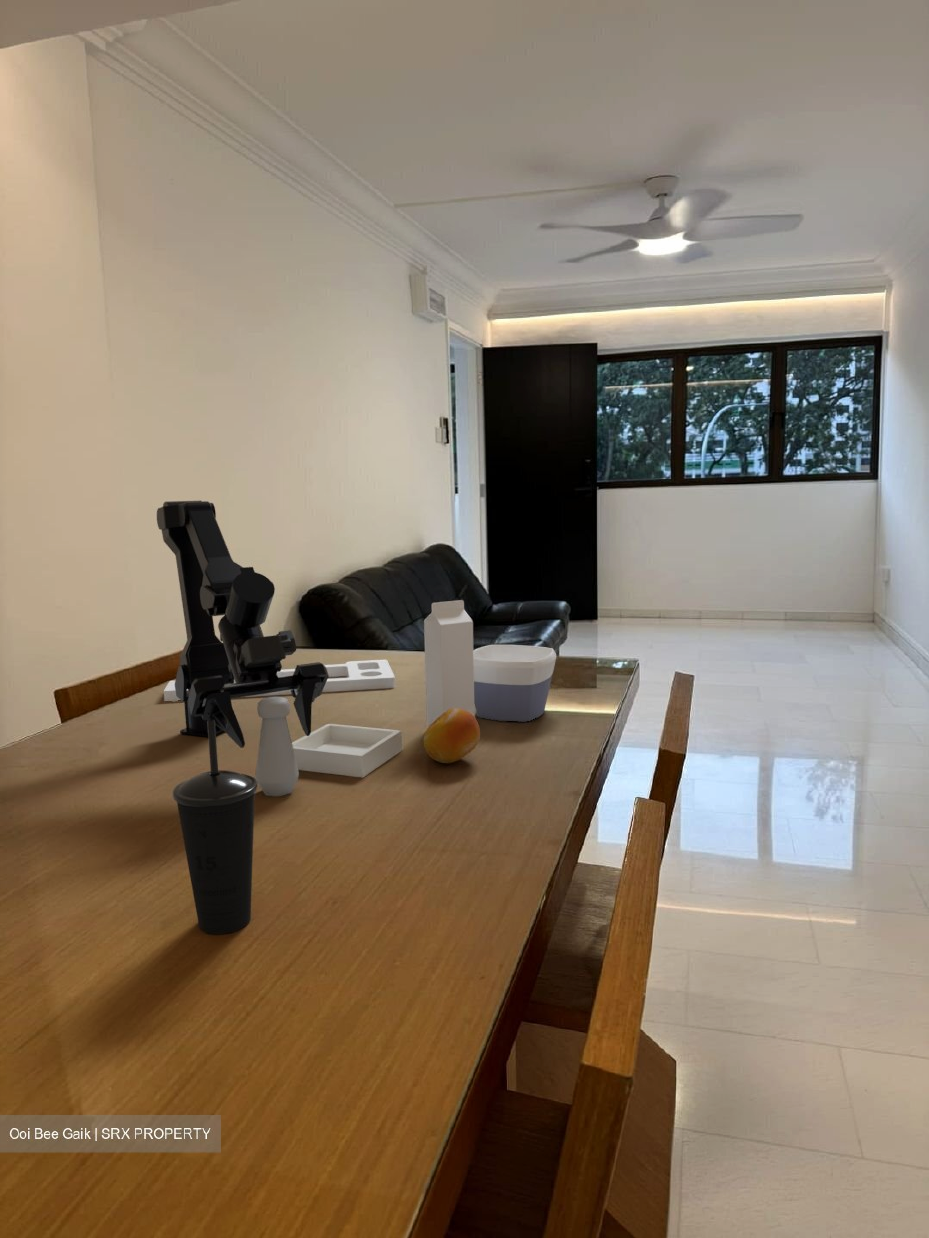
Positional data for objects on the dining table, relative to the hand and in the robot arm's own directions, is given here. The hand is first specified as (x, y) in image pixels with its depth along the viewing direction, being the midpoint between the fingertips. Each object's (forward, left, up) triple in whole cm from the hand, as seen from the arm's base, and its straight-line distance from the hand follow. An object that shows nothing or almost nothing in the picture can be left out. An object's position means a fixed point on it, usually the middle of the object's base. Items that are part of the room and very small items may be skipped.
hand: (276, 740), depth 116 cm
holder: (-35, +55, -8) cm, 65 cm away
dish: (+2, +15, -7) cm, 17 cm away
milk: (+12, +33, -8) cm, 36 cm away
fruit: (+18, +19, -8) cm, 27 cm away
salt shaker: (0, 0, -8) cm, 8 cm away
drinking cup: (+15, -32, -8) cm, 36 cm away
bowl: (+17, +47, -8) cm, 51 cm away
